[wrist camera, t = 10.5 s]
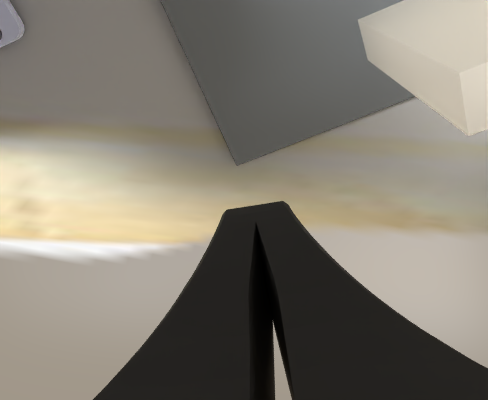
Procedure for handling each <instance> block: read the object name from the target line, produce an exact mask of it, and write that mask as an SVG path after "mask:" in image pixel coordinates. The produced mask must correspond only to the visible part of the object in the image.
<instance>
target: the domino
mask: <svg viewBox="0 0 488 400" xmlns="http://www.w3.org/2000/svg"><path fill="white" fill-rule="evenodd" d="M358 23H359V27H360V31H361V35H362V39H363V43H364V47H365V51H366V55H367V59H368V61H370V62H371V63H372V64H374V65H375V66H376V67H378V68H379V69H380V70H381V71H383V72H384V73H385V74H387V75H388V76H389V77H391V78H392V79H393V80H395V81H396V82H397V83H399V84H400V85H401V86H403V87H404V88H405V89H407V90H408V91H409V92H410V93H412V94H413V95H414V96H416V97H417V98H418V99H420V100H421V101H422V102H424V103H425V104H426V105H428V106H429V107H430V108H432V109H433V110H434V111H435V112H437V113H438V114H439V115H441V116H442V117H443V118H445V119H446V120H447V121H449V122H450V123H451V124H453V125H454V126H455V127H457V128H458V129H459V130H461V131H462V132H463V133H464V134H466V135H467V136H468V137H469V136H471V135H474V134H477V133H479V132H482V131H485V130H488V0H403V1H401V2H399V3H396V4H394V5H391V6H389V7H387V8H384V9H382V10H380V11H377V12H375V13H373V14H370V15H368V16H366V17H363V18H361V19H358Z"/></svg>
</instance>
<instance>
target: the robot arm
mask: <svg viewBox="0 0 488 400" xmlns="http://www.w3.org/2000/svg"><path fill="white" fill-rule="evenodd" d="M0 30H1V32H2V38H1V39H0V48H1V47H3V46H6V45H8V44H10V43H12V42H14V41H16V40H18V39H20V38H21V37H22V36H23V34H24V25H23V22H22V20H21V19H20V17H19V15H18V14H17V12H16V11H15V9H14V7H13V6H12V4H11V3H10V1H9V0H0ZM273 323H274V327H275V331H276V336H277V340H278V344H279V348H280V352H281V356H282V360H283V364H284V368H285V372H286V377H287V381H288V385H289V389H290V393H291V397H292V400H488V368H486V367H484V366H482V365H480V364H478V363H476V362H475V361H473V360H471V359H469V358H468V357H466V356H465V355H463V354H461V353H460V352H458V351H456V350H455V349H453V348H451V347H450V346H448V345H447V344H445V343H443V342H442V341H440V340H438V339H437V338H435V337H434V336H432V335H430V334H429V333H427V332H425V331H424V330H422V329H420V328H419V327H418V326H416V325H415V324H413V323H412V322H410V321H409V320H407V319H406V318H405V317H403V316H402V315H400V314H399V313H397V312H396V311H395V310H393V309H392V308H391V307H389V306H388V305H387V304H385V303H384V302H383V301H381V300H380V299H379V298H377V297H376V296H375V295H374V294H372V293H371V292H370V291H369V290H367V289H366V288H365V287H364V286H363V285H362V284H360V283H359V282H358V281H357V280H356V279H354V277H352V276H351V275H350V274H349V273H348V272H347V271H346V270H344V268H342V267H341V266H340V265H339V264H338V263H337V262H336V261H335V260H334V259H333V258H332V257H331V256H330V255H329V254H328V253H327V252H326V251H325V250H324V249H323V248H322V247H321V246H320V245H319V243H318V242H317V241H316V240H315V239H314V238H313V237H312V236H311V235H310V233H309V232H308V231H307V230H306V229H305V227H304V226H303V225H302V224H301V223H300V221H299V220H298V219H297V217H296V216H295V214H294V213H293V212H292V210H291V208H290V207H289V205H288V204H286V203H285V202H284V201H280V202H274V203H267V204H261V205H254V206H248V207H241V208H235V209H228V210H226V211H225V212H224V214H223V215H222V217H221V220H220V222H219V225H218V227H217V229H216V232H215V234H214V236H213V238H212V240H211V242H210V244H209V246H208V248H207V250H206V252H205V253H204V255H203V257H202V259H201V261H200V263H199V264H198V266H197V268H196V270H195V272H194V273H193V275H192V277H191V278H190V280H189V281H188V283H187V284H186V286H185V287H184V289H183V291H182V292H181V294H180V295H179V297H178V299H177V300H176V302H175V303H174V304H173V306H172V307H171V309H170V310H169V312H168V313H167V314H166V316H165V317H164V319H163V320H162V321H161V322H160V324H159V325H158V326H157V328H156V329H155V330H154V332H153V333H152V334H151V335H150V337H149V338H148V339H147V341H146V342H145V343H144V344H143V345H142V347H141V348H140V349H139V350H138V351H137V352H136V353H135V355H134V356H133V357H132V358H131V359H130V360H129V362H128V363H127V364H126V365H125V366H124V367H123V368H122V369H121V370H120V372H119V373H118V374H117V375H116V376H115V377H114V378H113V379H112V380H111V381H110V382H109V384H108V385H107V386H106V387H105V388H104V389H103V390H102V391H101V392H100V393H99V394H98V395H97V396H96V397H95V398H94V399H93V400H275V380H274V379H275V378H274V345H273Z"/></svg>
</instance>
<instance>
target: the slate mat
mask: <svg viewBox="0 0 488 400" xmlns="http://www.w3.org/2000/svg"><path fill="white" fill-rule="evenodd" d="M401 1H403V0H161V3H162V5H163V7H164V9H165V11H166V13H167V16H168V18H169V20H170V22H171V24H172V26H173V29H174V31H175V33H176V35H177V37H178V39H179V42H180V44H181V46H182V48H183V50H184V52H185V55H186V57H187V59H188V61H189V63H190V65H191V68H192V70H193V72H194V74H195V76H196V78H197V81H198V83H199V85H200V87H201V89H202V92H203V94H204V96H205V98H206V100H207V102H208V105H209V107H210V109H211V111H212V113H213V115H214V118H215V120H216V122H217V124H218V126H219V128H220V131H221V133H222V135H223V137H224V139H225V141H226V144H227V146H228V148H229V150H230V152H231V154H232V157H233V159H234V161H235V163H236V165H237V166H238V165H240V164H243V163H245V162H248V161H250V160H253V159H256V158H258V157H261V156H263V155H266V154H268V153H271V152H274V151H276V150H279V149H281V148H284V147H286V146H289V145H292V144H294V143H297V142H299V141H302V140H304V139H307V138H309V137H312V136H315V135H317V134H320V133H322V132H325V131H327V130H330V129H333V128H335V127H338V126H340V125H343V124H345V123H348V122H351V121H353V120H356V119H358V118H361V117H363V116H366V115H369V114H371V113H374V112H376V111H379V110H381V109H384V108H387V107H389V106H392V105H394V104H397V103H399V102H402V101H405V100H407V99H410V98H412V97H415V96H414V95H413V94H412V93H410V92H409V91H408V90H407V89H405V88H404V87H403V86H401V85H400V84H399V83H397V82H396V81H395V80H393V79H392V78H391V77H389V76H388V75H387V74H385V73H384V72H383V71H381V70H380V69H379V68H378V67H376V66H375V65H374V64H372V63H371V62H370V61H368V59H367V55H366V51H365V47H364V43H363V39H362V35H361V31H360V27H359V23H358V19H361V18H363V17H366V16H368V15H370V14H373V13H375V12H377V11H380V10H382V9H384V8H387V7H389V6H391V5H394V4H396V3H399V2H401Z"/></svg>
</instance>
